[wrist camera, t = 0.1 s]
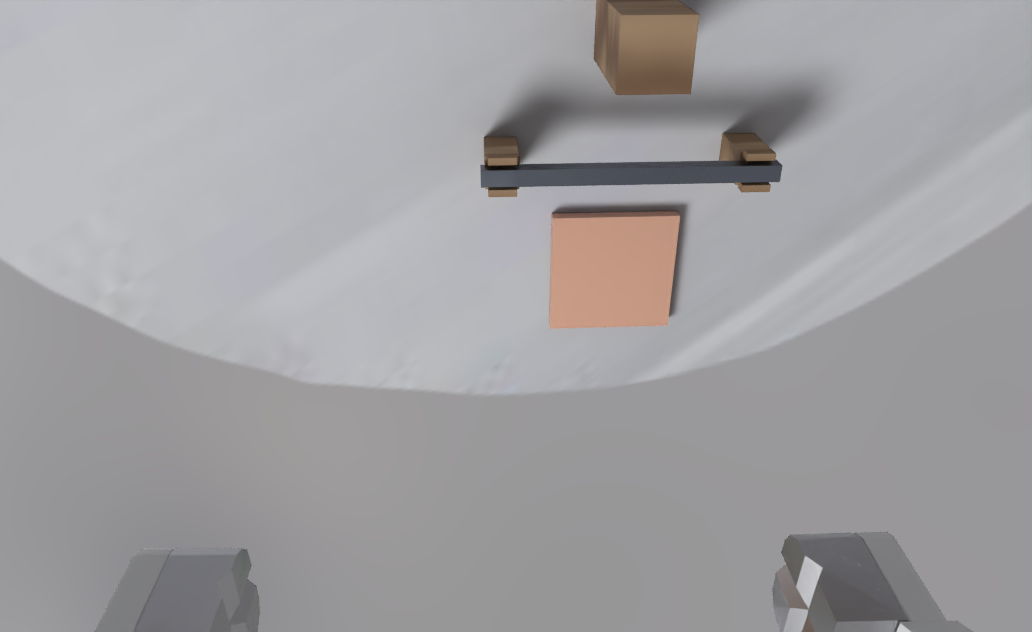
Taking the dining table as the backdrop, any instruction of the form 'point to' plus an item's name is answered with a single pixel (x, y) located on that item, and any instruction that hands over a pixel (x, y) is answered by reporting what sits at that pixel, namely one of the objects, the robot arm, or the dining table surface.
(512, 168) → the metal bar
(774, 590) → the robot arm
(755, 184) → the hurdle posts
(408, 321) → the dining table surface
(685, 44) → the walnut block
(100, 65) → the dining table surface
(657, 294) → the coaster
